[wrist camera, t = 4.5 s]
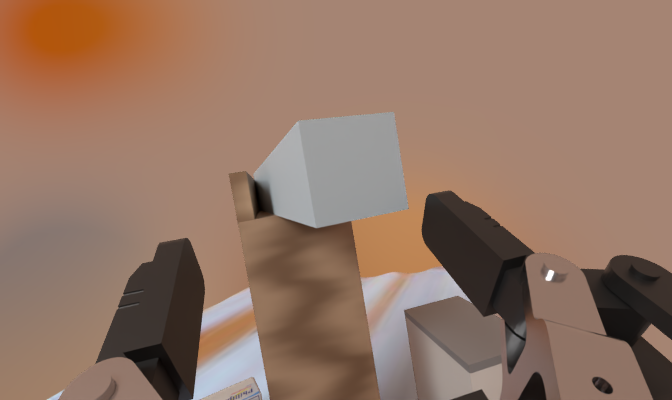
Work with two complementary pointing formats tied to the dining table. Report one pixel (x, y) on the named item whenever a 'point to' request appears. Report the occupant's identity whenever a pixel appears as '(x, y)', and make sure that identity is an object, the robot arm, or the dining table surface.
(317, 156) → the bar
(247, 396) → the medicine box
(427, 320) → the block
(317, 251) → the stand
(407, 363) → the dining table surface
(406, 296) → the dining table surface
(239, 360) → the dining table surface
